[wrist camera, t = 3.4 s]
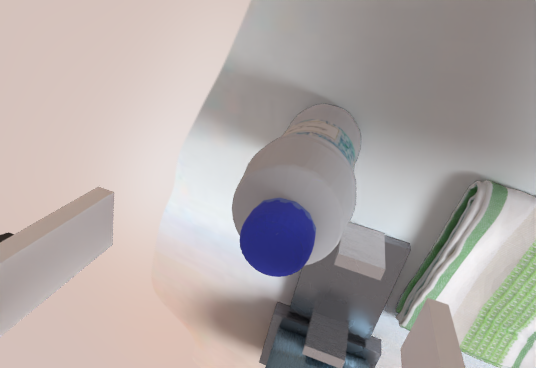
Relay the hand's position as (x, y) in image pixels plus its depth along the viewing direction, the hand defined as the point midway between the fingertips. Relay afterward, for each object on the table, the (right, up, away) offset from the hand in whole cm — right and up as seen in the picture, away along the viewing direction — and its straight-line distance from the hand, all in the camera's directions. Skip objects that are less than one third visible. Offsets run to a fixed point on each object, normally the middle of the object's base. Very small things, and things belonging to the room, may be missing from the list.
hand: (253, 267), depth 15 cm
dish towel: (+27, -7, +19) cm, 34 cm away
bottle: (+6, +8, +19) cm, 21 cm away
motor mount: (+8, -10, +25) cm, 29 cm away
